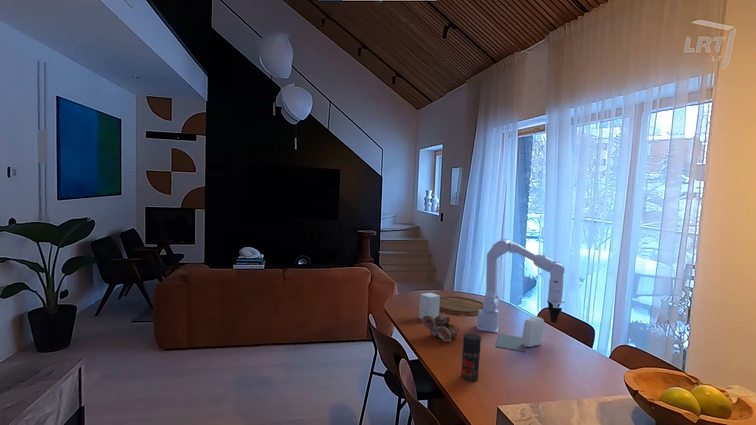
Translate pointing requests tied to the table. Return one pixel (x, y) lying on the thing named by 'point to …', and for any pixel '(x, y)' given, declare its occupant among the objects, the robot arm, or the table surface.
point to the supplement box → (429, 305)
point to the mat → (510, 342)
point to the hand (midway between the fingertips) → (553, 319)
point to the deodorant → (470, 357)
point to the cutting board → (460, 306)
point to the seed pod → (441, 327)
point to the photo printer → (533, 331)
